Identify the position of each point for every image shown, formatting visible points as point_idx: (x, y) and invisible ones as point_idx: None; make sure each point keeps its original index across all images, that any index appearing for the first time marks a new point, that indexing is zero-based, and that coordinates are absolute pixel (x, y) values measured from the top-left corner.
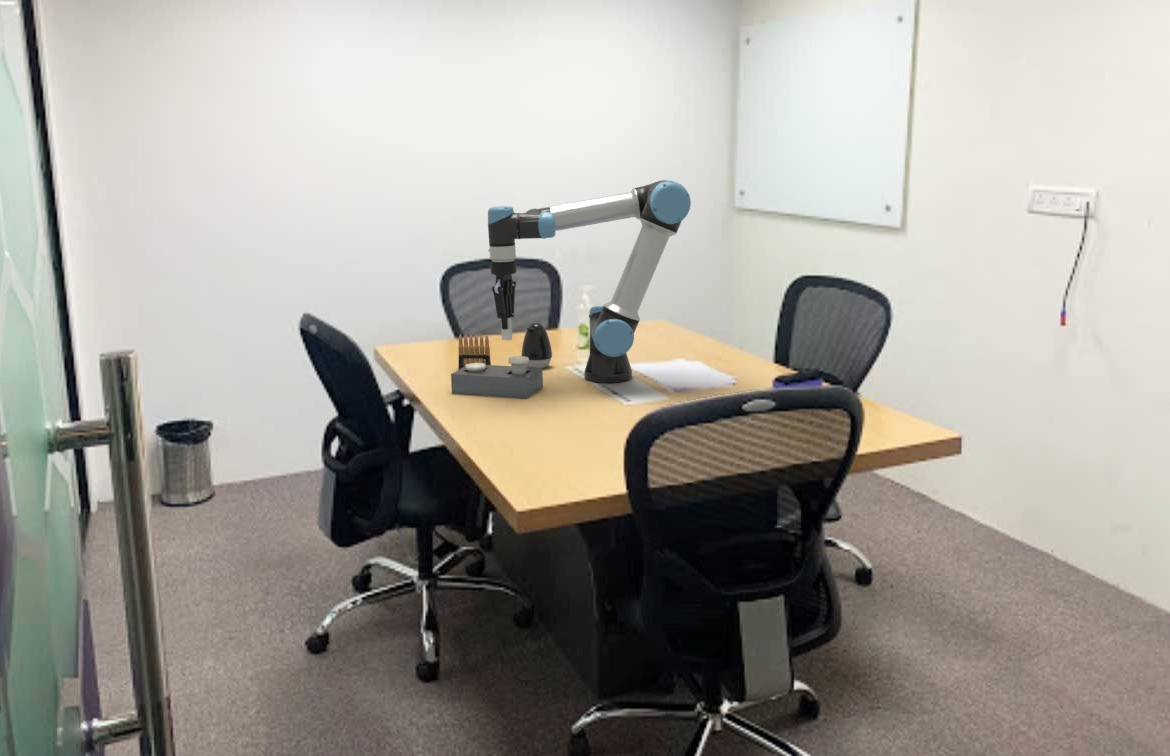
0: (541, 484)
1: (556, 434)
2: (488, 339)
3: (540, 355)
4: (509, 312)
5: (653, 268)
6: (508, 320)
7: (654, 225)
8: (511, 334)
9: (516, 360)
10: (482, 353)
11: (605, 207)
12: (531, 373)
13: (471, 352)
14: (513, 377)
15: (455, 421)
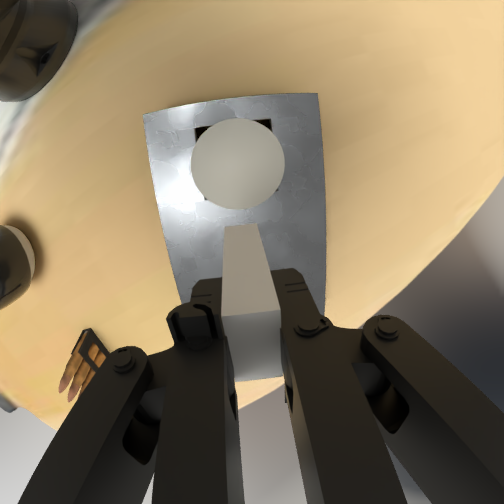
0: None
1: (470, 13)
2: (61, 380)
3: (9, 241)
4: (224, 374)
5: None
6: (277, 304)
7: None
8: (234, 237)
9: (282, 152)
10: (86, 366)
11: None
12: (235, 107)
13: None
14: (316, 142)
15: (476, 189)
